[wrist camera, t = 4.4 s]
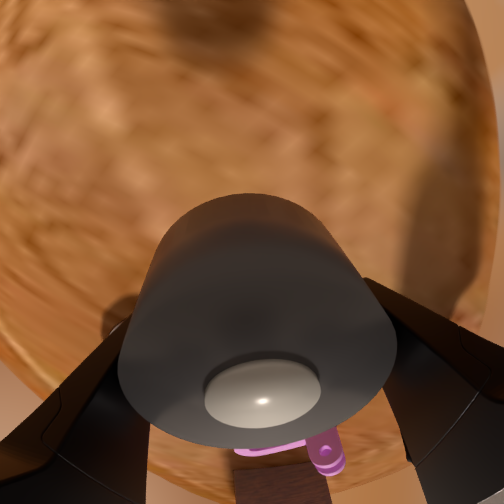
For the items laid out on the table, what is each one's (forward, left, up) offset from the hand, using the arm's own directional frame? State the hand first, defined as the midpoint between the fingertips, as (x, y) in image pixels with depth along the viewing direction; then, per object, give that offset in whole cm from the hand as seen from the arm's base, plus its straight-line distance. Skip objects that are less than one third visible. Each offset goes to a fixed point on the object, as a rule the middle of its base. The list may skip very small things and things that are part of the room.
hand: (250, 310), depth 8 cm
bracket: (-1, +30, -11) cm, 32 cm away
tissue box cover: (+2, +56, -11) cm, 57 cm away
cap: (0, 0, -1) cm, 1 cm away
